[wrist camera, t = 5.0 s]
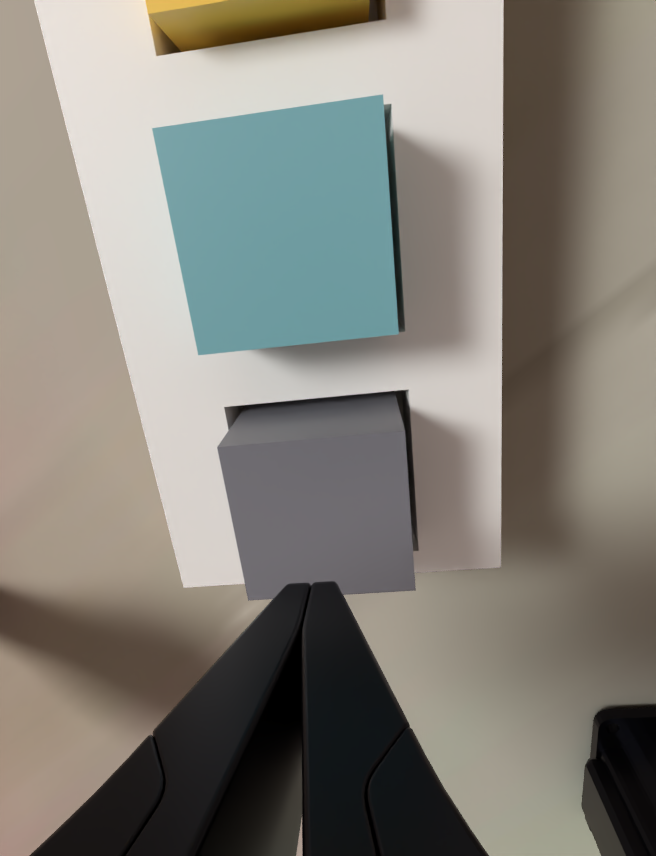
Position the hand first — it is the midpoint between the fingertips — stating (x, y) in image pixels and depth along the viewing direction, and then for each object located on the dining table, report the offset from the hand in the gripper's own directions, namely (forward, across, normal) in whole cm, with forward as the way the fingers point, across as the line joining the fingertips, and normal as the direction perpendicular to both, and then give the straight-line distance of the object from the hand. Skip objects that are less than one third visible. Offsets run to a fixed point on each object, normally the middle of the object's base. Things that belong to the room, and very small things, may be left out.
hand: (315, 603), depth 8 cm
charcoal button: (+6, 0, 0) cm, 6 cm away
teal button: (+6, 0, -6) cm, 8 cm away
